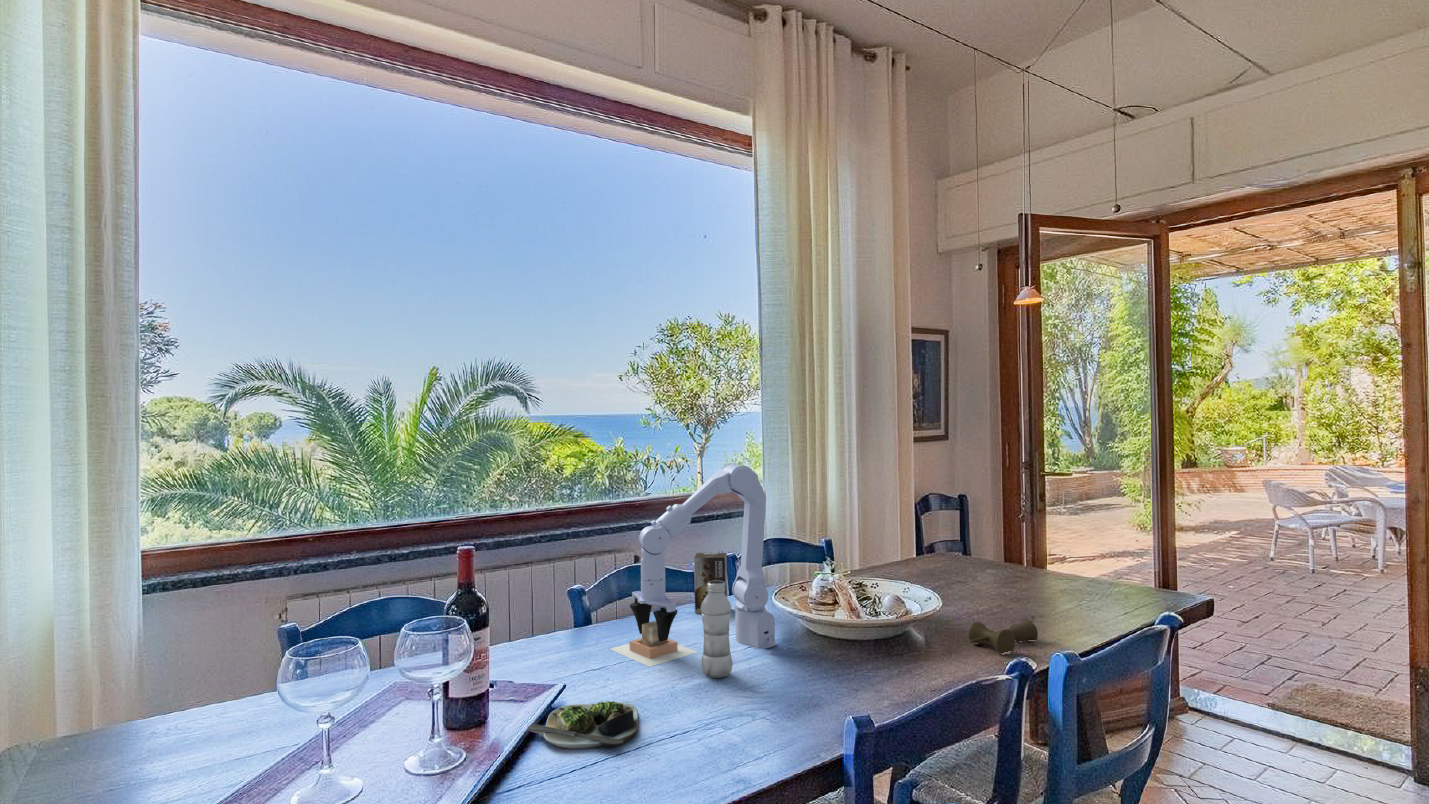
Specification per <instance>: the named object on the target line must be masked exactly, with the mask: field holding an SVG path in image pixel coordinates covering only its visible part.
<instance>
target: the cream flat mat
mask: <svg viewBox="0 0 1429 804" xmlns="http://www.w3.org/2000/svg"><path fill="white" fill-rule="evenodd" d="M677 644H678V643H677ZM609 650H611V651H613V652H615V653H618V654H620V655H622V656H624V657H627V658H629V659H631V660H633V661H634V662H638V663H639V664H641V665H644V666H647V667H648V668H651V667H654V666H658V665H660V664H661V665H662V664H664V663H666V662H670V661H673V660H678V659H680V658H684V657H686V656H690V655H694V654H697V653H698V651H697V650H694V649H691V648H689V647H687V646H683V645H681V644H678V651H675V652H671V653H668V654H665V655H661V656H658V657H654V658H651V659H649V658H647V657H645V656H642V655H640V654H638V653H635V652H633V651H631V650H630V642H629V643H626V644H622V645H618V646H615V647H612V648H609Z"/></svg>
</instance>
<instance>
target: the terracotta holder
mask: <svg viewBox="0 0 1429 804" xmlns="http://www.w3.org/2000/svg"><path fill="white" fill-rule="evenodd" d="M629 643H630V650H631V651H633V652H635V653H638V654H640V655H642V656H645V657H647V658H649V659H651V658H654V657H658V656H661V655H665V654H668V653H671V652H675V651H678V641H676V640H673V639H670V638H668V640H666V643H665V644H661V645H658V646H654V647H649V646H646V645H644V644H642V637H641V638H638V639H634V640H630V641H629Z"/></svg>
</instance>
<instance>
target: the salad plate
mask: <svg viewBox="0 0 1429 804" xmlns="http://www.w3.org/2000/svg"><path fill="white" fill-rule="evenodd" d="M527 728H528V729H527V730H528V731H529V732H532V733H535V734H539V735H540V736H541V737H543V738H544V740H545V741H546V742H547V743H550V744H552V745H554V746H556V747H559V748H564V749H570V750H571V749H572V750H573V749H574V750H575V749H601V748H603V749H604V748H613V747H614V748H615V747H619V746H621V745H624V744H626V743H628V742H630V741H632V740H633V739H634V738H635V736H636V735H637V732H638V729H639V711H638V708H637V707H636V706H635V705H633V704H631V703H628V702H624V701H614V700H613V701H609V700H605V702H604V701H598V702H597V703H577V704H567V705H563V706H561V707H558V708H556V709H554V710H552V711H551V712H550V713H549V714H548V717H547V719H546V722H545V725H541V724H537V723H532V724H529V725H528V726H527Z"/></svg>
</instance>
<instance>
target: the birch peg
mask: <svg viewBox="0 0 1429 804" xmlns="http://www.w3.org/2000/svg"><path fill="white" fill-rule="evenodd" d="M641 638H642V644H644V645H646V646H649V647H654V646H658V645H661V644H665V643H666V640H665V641H662V642H660V641H659V639H658V629H657V623H656V620H654V621H649V623H645V624H642V634H641Z"/></svg>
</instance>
